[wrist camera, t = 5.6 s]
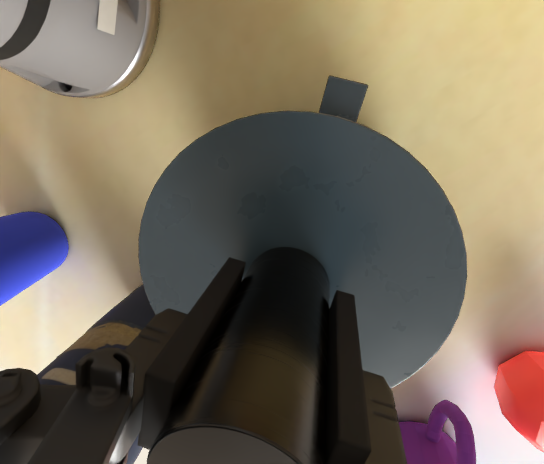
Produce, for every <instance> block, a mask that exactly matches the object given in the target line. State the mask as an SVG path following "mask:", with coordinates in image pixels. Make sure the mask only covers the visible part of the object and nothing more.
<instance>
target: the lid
mask: <svg viewBox="0 0 544 464" xmlns="http://www.w3.org/2000/svg"><path fill="white" fill-rule="evenodd" d="M229 257H231V258H234V259H237V260H241V261H244V262H246V264H245V269H244V273H243V277H242V282H241V284H240V286H239V287H238V289H237V291H236V293H235V295H234V297H233V298H232V300H231V302H230V304H229V306H228V308H227V309H226V311H225V313H224V315H223V317H222V319H221V320H220V322H219V324H218V326H217V328H216V329H215V331H214V333H213V335H212V337H211V339H210V340H209V342H208V344H207V346H206V348H205V350H204V351H203V353H202V355H201V357H200V359H199V360H198V362H197V364H196V366H195V368H194V370H193V371H192V373H191V375H190V377H189V379H188V381H187V382H186V384H185V386H184V388H183V390H182V392H181V393H180V395H179V397H178V399H177V401H176V402H175V404H174V406H173V408H172V410H171V412H170V413H169V415H168V417H167V419H166V421H165V423H164V424H163V426H162V428H161V430H160V432H159V434H158V435H157V437H156V439H155V441H154V443H153V444H152V446H151V449H150V451H149V454H148V458H147V464H326V426H327V384H328V341H329V309H330V306H331V303H332V301H333V298H334V295H335V293H336V290H339V291H342V292H346V293H349V294H352V295H354V297H355V306H356V315H357V324H358V333H359V342H360V351H361V360H362V369H363V370H365V371H368V372H371V373H374V374H377V375H380V376H383V377H384V379H385V380H386V382H387V384H388V385H389V387H390V389H391V388H393V387H395V386H397V385H398V384H400V383H401V382H403V381H405V380H406V379H408V378H409V377H411V376H412V375H413V374H415V373H416V372H417V371H418V370H419V369H421V368H422V367H423V366H424V365H425V364H426V363H427V362H428V361H429V360H430V359H431V358H432V357H433V356H434V355H435V354H436V353H437V351H438V350H439V349H440V348H441V346H442V345H443V343H444V342H445V340H446V339H447V337H448V336H449V334H450V332H451V330H452V328H453V326H454V324H455V322H456V320H457V318H458V316H459V312H460V309H461V306H462V302H463V299H464V294H465V287H466V280H467V256H466V249H465V244H464V239H463V234H462V230H461V227H460V225H459V222H458V219H457V216H456V214H455V211H454V209H453V207H452V205H451V204H450V202H449V200H448V198H447V196H446V195H445V193H444V191H443V189H442V188H441V187H440V185H439V184H438V183H437V182H436V180H435V179H434V178H433V176H432V175H431V174H430V173H429V171H428V170H427V169H426V168H425V167H424V166H423V165H422V164H421V163H420V162H419V161H418V160H416V159H415V158H414V157H413V156H412V155H411V154H410V153H409V152H408V151H406V150H405V149H404V148H402V147H401V146H399V145H398V144H396V143H395V142H394V141H392V140H391V139H389V138H388V137H386V136H384V135H382V134H380V133H378V132H376V131H374V130H372V129H370V128H368V127H366V126H364V125H362V124H359V123H356V122H353V121H350V120H347V119H344V118H341V117H338V116H333V115H327V114H322V113H317V112H306V111H278V112H268V113H260V114H256V115H252V116H248V117H244V118H240V119H236V120H234V121H231V122H229V123H227V124H224V125H222V126H219V127H217V128H215V129H213V130H211V131H210V132H208V133H206V134H205V135H203V136H201V137H200V138H198V139H196V140H195V141H194V142H193V143H191V144H190V145H189V146H188V147H186V148H185V149H184V150H183V151H182V152H180V153H179V154H178V155H177V157H176V158H175V159H174V160H173V161H172V162H171V163H170V164H169V165H168V167H167V168H166V169H165V170H164V172H163V173H162V175H161V176H160V178H159V179H158V181H157V182H156V184H155V186H154V188H153V190H152V192H151V194H150V196H149V199H148V201H147V203H146V207H145V210H144V213H143V217H142V220H141V226H140V233H139V264H140V272H141V277H142V281H143V285H144V289H145V292H146V294H147V297H148V300H149V302H150V305H151V307H152V309H153V311H154V313H155V315H156V314H158V313H160V312H162V311H164V310H166V309H168V308H170V309H173V310H176V311H179V312H182V313H186V314H188V313H189V312H190V310H191V309H192V308H193V306H194V305H195V304H196V302H197V301H198V299H199V298H200V297H201V295H202V294H203V293H204V291H205V290H206V288H207V287H208V286H209V284H210V283H211V282H212V280H213V279H214V277H215V276H216V275H217V273H218V272H219V271H220V269H221V268H222V266H223V265H224V264H225V262H226V261H227V260H228V258H229Z"/></svg>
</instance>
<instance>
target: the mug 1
mask: <svg viewBox="0 0 544 464" xmlns="http://www.w3.org/2000/svg"><path fill="white" fill-rule="evenodd" d="M68 249H69V246H68V240H67V237H66V234H65V232H64V231H63V229H62V228H61V227H60V225H59V224H58V223H57V222H56V221H55V220H53V219H52V218H50V217H49V216H47V215H45V214H42V213H38V212H21V213H16V214H11V215H7V216H2V217H0V306H1V305H2V304H4V303H5V302H7V301H8V300H10V299H11V298H13V297H14V296H16V295H17V294H19V293H20V292H22V291H23V290H25V289H26V288H28V287H29V286H31V285H32V284H34V283H35V282H37V281H38V280H40V279H41V278H43V277H44V276H46V275H47V274H49V273H50V272H52V271H53V270H55V269H56V268H57V267H59V266H60V265H61V264H62V263H63V262H64V260H65V259H66V257H67V254H68Z"/></svg>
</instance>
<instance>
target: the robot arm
mask: <svg viewBox="0 0 544 464" xmlns="http://www.w3.org/2000/svg"><path fill="white" fill-rule="evenodd" d="M159 14H160V0H0V67H2V68H4V69H6V70H8V71H10V72H12V73H14V74H16V75H18V76H20V77H22V78H24V79H26V80H28V81H30V82H32V83H34V84H36V85H38V86H41V87H42V88H45V89H47V90H49V91H51V92H54V93H57V94H60V95H64V96H71V97H83V98H99V97H105V96H109V95H112V94H114V93H117V92H119V91H120V90H122V89H124V88H125V87H127V86H128V85H129V84H130V83H131V82H133V81H134V80H135V79H136V77H137V76H138V75H139V74H140V73H141V71H142V70H143V68H144V67H145V65H146V63H147V61H148V60H149V57H150V55H151V53H152V50H153V47H154V44H155V41H156V37H157V32H158V25H159ZM245 264H246V262H244V261H241V260H237V259H234V258H231V257H229V258H228V260H227V261H226V262H225V264H224V265H223V266H222V268H221V269H220V271H219V272H218V273H217V275H216V276H215V277H214V279H213V280H212V282H211V283H210V284H209V286H208V287H207V288H206V290H205V291H204V293H203V294H202V295H201V297H200V298H199V299H198V301H197V302H196V304H195V305H194V306H193V308H192V309H191V310H190V312H189V313H188V314H186V313H182V312H179V311H176V310H173V309H170V308H168V309H166V310H164V311H162V312H160V313H158V314H156V315H155V316H154V317H153V318H152V319H151V321H150V322H149V323H148V324H147V325H146V327H144V328H143V330H142V331H141V332H140V333H139V335H138V336H136V337H135V339H134V340H133V341H132V342H131V343H130V344H129V345H128V346H127V348H126V349H125V350H123V349H120V348H109V347H106V348H102V349H98V350H94V351H92V352H90V353H88V354H87V355H85V356H83V357H82V358H81V359H80V360H79V361H78V362H77V363H76V385H42V384H40V382H39V379H38V375H36V374H35V373H34V372H32V371H31V370H27V369H22V368H16V369H6V370H3V371H0V464H126V463H127V458H128V451H129V449H130V447H131V446H132V444H133V442H134V441H135V439H136V437H137V436H138V434H139V436H138V446H141V447H144V448H147V449H149V450H150V449H151V446H152V444H153V443H154V441H155V439H156V437H157V435H158V434H159V432H160V430H161V428H162V426H163V424H164V423H165V421H166V419H167V417H168V415H169V413H170V412H171V410H172V408H173V406H174V404H175V402H176V401H177V399H178V397H179V395H180V393H181V392H182V390H183V388H184V386H185V384H186V382H187V381H188V379H189V377H190V375H191V373H192V371H193V370H194V368H195V366H196V364H197V362H198V360H199V359H200V357H201V355H202V353H203V351H204V350H205V348H206V346H207V344H208V342H209V340H210V339H211V337H212V335H213V333H214V331H215V329H216V328H217V326H218V324H219V322H220V320H221V319H222V317H223V315H224V313H225V311H226V309H227V308H228V306H229V304H230V302H231V300H232V298H233V297H234V295H235V293H236V291H237V289H238V287H239V286H240V284H241V282H242V277H243V273H244V269H245ZM326 464H407V460H406V455H405V450H404V446H403V441H402V436H401V431H400V426H399V422H398V417H397V412H396V409H395V402H394V398H393V393H392V390H391V389H390V387H389V385H388V384H387V382H386V380H385V379H384V377H383V376H380V375H377V374H374V373H371V372H368V371H365V370H363V369H362V360H361V351H360V342H359V333H358V324H357V315H356V306H355V297H354V295H352V294H349V293H346V292H342V291H339V290H336V293H335V295H334V298H333V301H332V303H331V306H330V309H329V341H328V384H327V426H326Z"/></svg>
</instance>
